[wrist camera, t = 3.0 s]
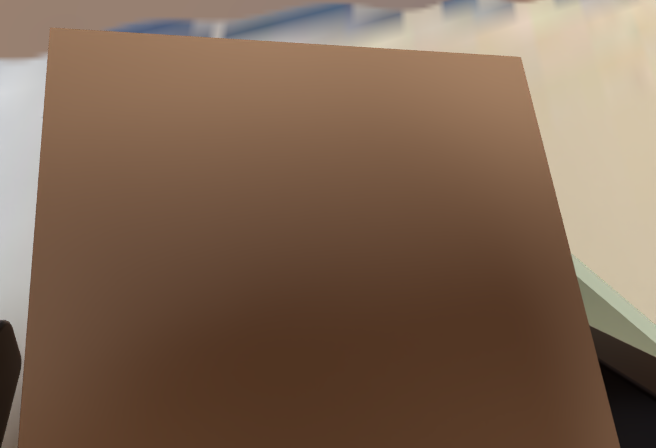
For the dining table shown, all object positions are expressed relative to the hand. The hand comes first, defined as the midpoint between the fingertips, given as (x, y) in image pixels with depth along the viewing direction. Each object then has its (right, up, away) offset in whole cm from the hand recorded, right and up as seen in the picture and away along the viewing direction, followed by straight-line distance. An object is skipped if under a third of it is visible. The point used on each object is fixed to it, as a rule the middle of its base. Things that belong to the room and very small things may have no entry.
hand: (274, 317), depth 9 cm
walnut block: (-2, -3, +7) cm, 8 cm away
